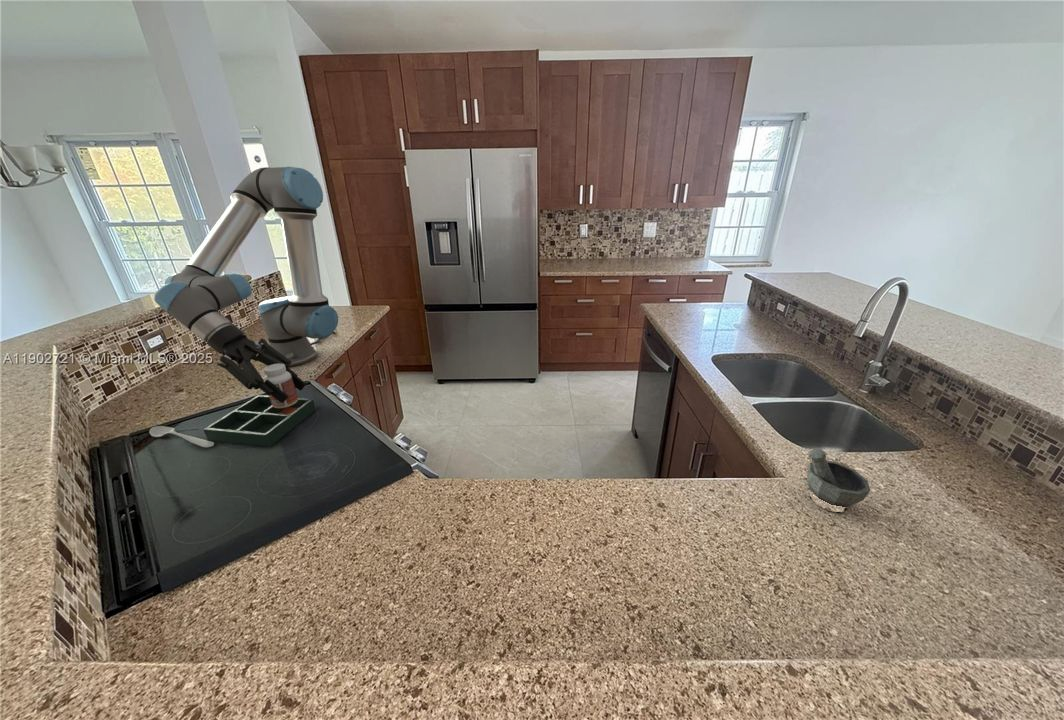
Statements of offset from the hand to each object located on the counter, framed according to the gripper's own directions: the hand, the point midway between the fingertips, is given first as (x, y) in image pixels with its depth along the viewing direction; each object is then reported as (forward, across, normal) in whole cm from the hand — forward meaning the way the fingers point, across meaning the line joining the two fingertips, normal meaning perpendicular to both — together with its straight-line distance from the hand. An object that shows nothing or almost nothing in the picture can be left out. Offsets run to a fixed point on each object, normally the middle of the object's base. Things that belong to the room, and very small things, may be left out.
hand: (294, 393), depth 100 cm
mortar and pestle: (+96, +13, +85) cm, 129 cm away
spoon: (-11, +13, -22) cm, 28 cm away
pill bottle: (0, 0, -5) cm, 5 cm away
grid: (0, +4, -11) cm, 12 cm away
